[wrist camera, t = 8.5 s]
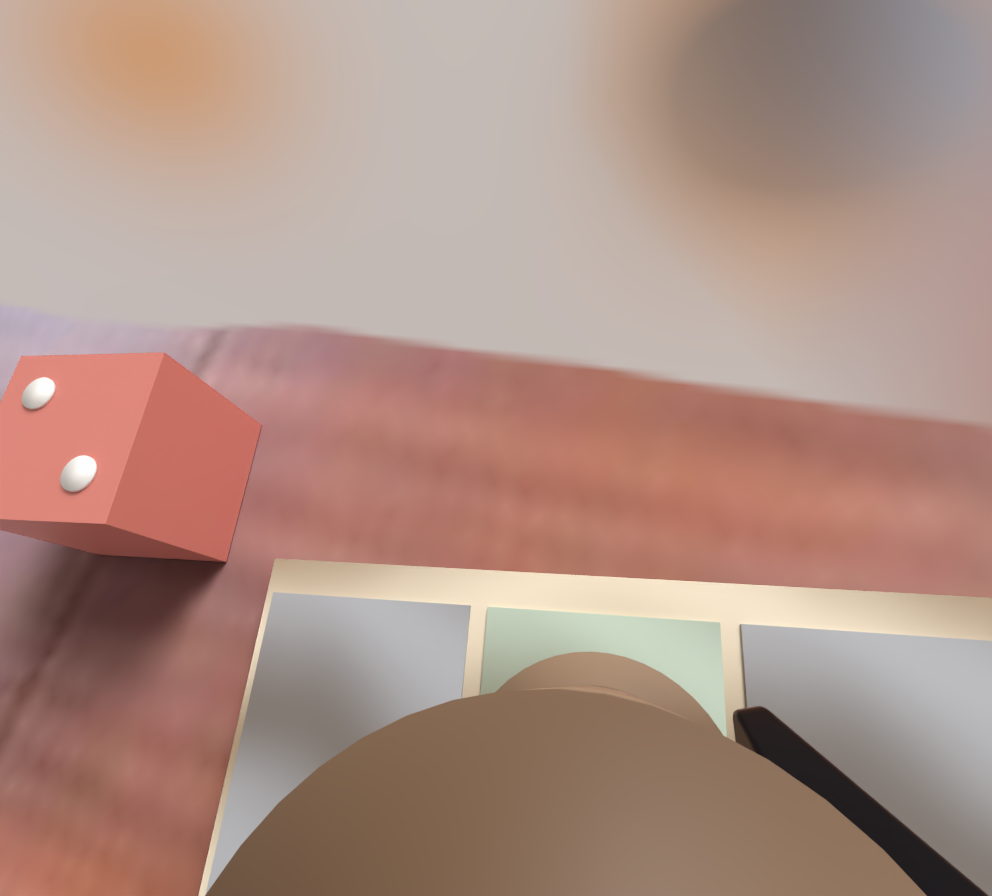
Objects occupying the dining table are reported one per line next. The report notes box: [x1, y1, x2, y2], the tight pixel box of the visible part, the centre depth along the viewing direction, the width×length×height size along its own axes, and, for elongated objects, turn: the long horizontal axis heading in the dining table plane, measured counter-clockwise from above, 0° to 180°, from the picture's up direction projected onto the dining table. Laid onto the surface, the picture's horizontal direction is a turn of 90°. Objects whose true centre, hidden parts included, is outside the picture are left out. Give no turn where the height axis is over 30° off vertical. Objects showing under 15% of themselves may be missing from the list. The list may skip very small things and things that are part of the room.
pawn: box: [205, 652, 927, 896], centre depth 7 cm, size 6×6×11 cm
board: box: [198, 559, 992, 896], centre depth 13 cm, size 10×26×1 cm, turn 85°
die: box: [0, 353, 262, 562], centre depth 18 cm, size 5×5×5 cm
